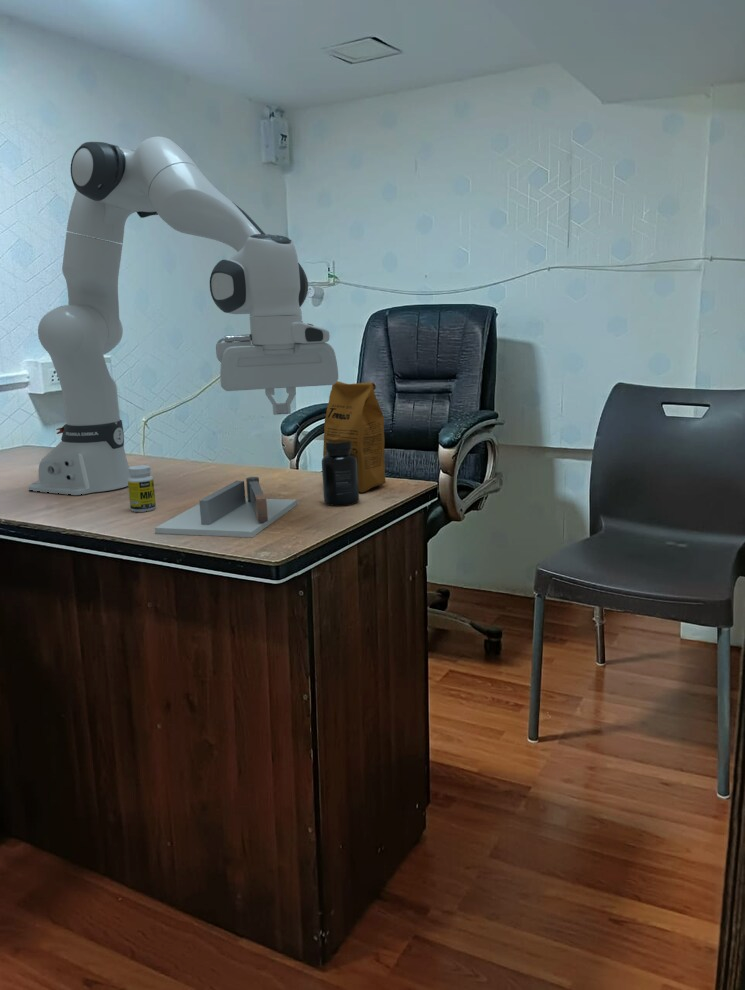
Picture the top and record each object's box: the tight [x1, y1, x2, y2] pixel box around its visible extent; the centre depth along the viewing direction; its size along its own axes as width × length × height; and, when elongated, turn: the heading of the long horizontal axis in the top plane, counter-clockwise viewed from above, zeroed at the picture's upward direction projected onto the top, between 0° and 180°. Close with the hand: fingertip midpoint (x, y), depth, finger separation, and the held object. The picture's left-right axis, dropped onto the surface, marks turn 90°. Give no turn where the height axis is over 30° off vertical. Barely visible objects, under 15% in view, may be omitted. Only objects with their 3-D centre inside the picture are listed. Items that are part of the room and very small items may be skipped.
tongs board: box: [154, 476, 298, 538], centre depth 146 cm, size 18×22×6 cm
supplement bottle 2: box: [321, 439, 360, 507], centre depth 154 cm, size 7×7×12 cm
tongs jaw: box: [249, 481, 268, 522], centre depth 145 cm, size 2×16×4 cm, turn 13°
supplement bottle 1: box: [127, 464, 157, 513], centre depth 154 cm, size 5×5×8 cm
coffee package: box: [322, 380, 386, 493], centre depth 165 cm, size 10×12×22 cm
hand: (281, 414), depth 140 cm, fingers closed
